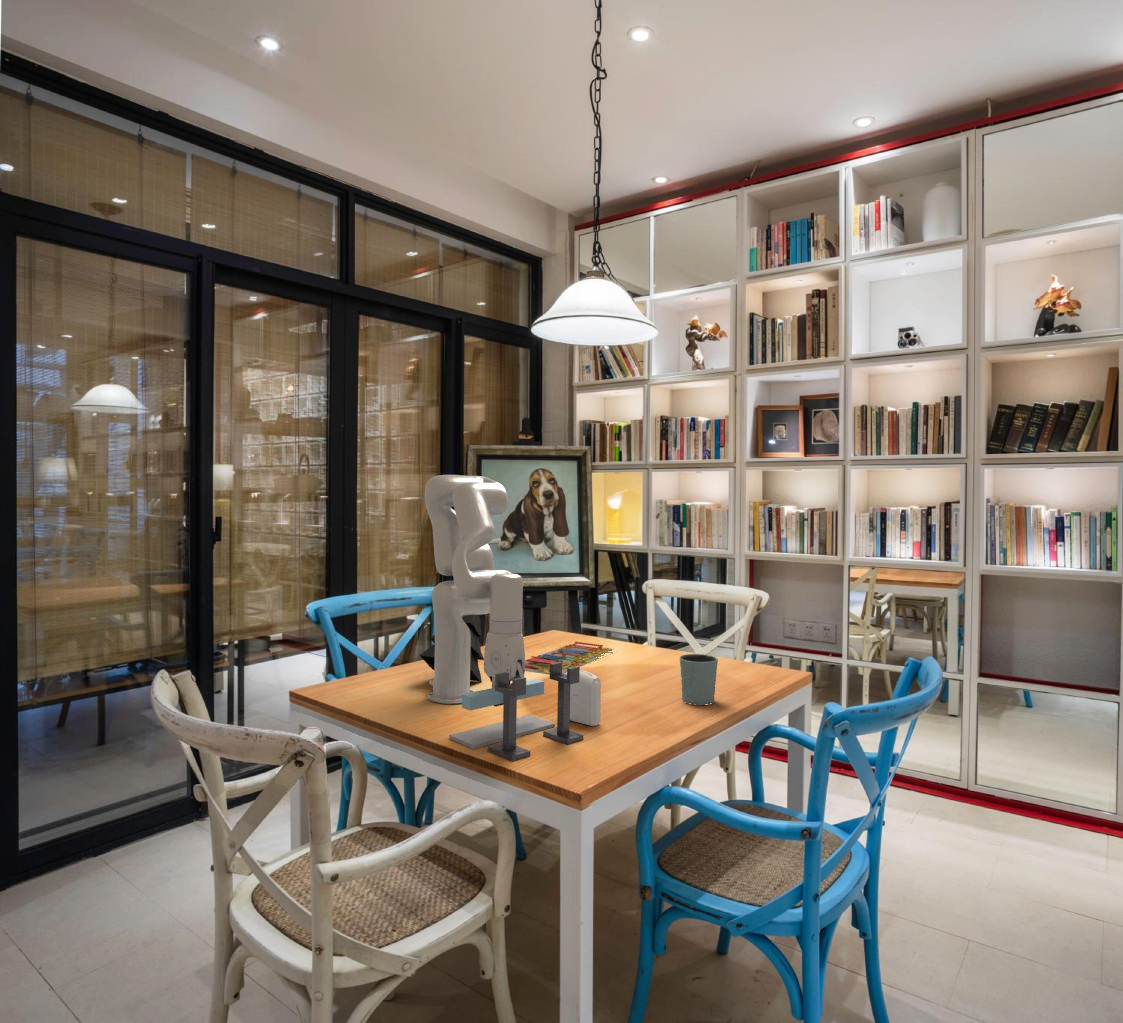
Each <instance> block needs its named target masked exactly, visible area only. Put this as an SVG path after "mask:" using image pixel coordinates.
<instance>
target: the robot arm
mask: <svg viewBox="0 0 1123 1023" xmlns="http://www.w3.org/2000/svg"><path fill="white" fill-rule="evenodd" d="M424 503H425V507H426V511H427V514H428V516H429V520H430V523H431V527H432V539H433V551H434V553H433V554H434V562H435V567H436V571H437V573H439V575H442V576H446V577H447V576H448V577H449V576H450V577H453V578H452V579H453V580H445V581H442V582H441V581H440V582H439V583H438V584H437V585H435V587H434V588H433V590H432V593H431V603H432V609H433V615H434V635H435V643H434V644H435V665H434V670H433V672H434V673H433V679H430V680H429V681H428V684H429V685H430V686H432V690H431V691H429V693H428V694H427V699H428V700H429V701H430V702H433V703H437V704H442V705H443V704H445V705H448V704H449V705H457V704H462V694H466V693H471V692H475V691H474V690H472V689H471V688H470V687H471V685H470V684H471V680H470V647H471V634H470V630H469V628H468V626H467V625H466V623H465V622H464V621H463V619H462V616H467V615H479V616H480V615H487V614H489V631H488V632H487V635H486V637H485V638H486V639H485V645H484V654H483V658H484V660H483V672H484V674H486V676H487V677H488V678H489V680H490V682H491V688H495V674H499V673H504V672H508V673H509V685H512V679H516V678H520V677H525V674H526V673H525V672H526V671H525V660H526V650H525V643H524V636H523V597H524V596H523V594H524V592H523V590H524V585H523V583H524V582H523V577H522V576H521V575H519V574H517V573H512V572H510V571H509V570H507V569H506V570H505V569H495V561H494V560H495V559H494V554H493V553H494V552H493V551H492V549H491V546H490V543H491V542H492V541H493V540H494V539H495V536H496V528H495V523H494V521H493V518H492V516H499V515H500V516H502V515H503V514H504V513H505V512H506V511H507V509H508V506H509V497H508V493H507V491H506V488H505V487H504V486H503V485H502V484H501V483H500V482H499V481H496V480H494V479H491V478H489V477H487V476H482V475H481V476H480V475H460V474H442V475H434V476H432V477H431V478H429V479H428V480H427V482H426V484H425V489H424ZM452 507H453V508H454V509H453V508H452ZM501 706H503V703H502V704H497V705H493V707H501Z"/></svg>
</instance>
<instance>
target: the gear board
mask: <svg viewBox="0 0 1123 1023" xmlns="http://www.w3.org/2000/svg"><path fill="white" fill-rule="evenodd" d="M596 647H597V648H596ZM612 650H613V648H611V647H604V645H603V644H597V643H589V642H588V643H587V642H581V641H574V643H573V644H572V643H569V644H566V645H564V646H560V647H559V648H556V649H553V650H551V651H547V652H545V653H542V654H539V655H536V656H535V655H531V656H530V657H529V658H528V659H525V672H530V673H536V674H544V675H549V676H550V664H551V663H556V662H562V674H566V672H567V668H570V667H575V666H578V667H580V666H581V667H583V666H585V665H588V664H591V663H592V661H593V662H595V661H598V660H600V659H599V658H598V657H601V656H604V655H601V654H603V653H604V654H605V653H612V654H614V653H613V652H608V651H612ZM596 657H597V658H596ZM597 659H598V660H597ZM594 660H595V661H594ZM587 663H588V664H587Z"/></svg>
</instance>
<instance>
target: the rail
mask: <svg viewBox="0 0 1123 1023" xmlns="http://www.w3.org/2000/svg"><path fill="white" fill-rule="evenodd" d="M544 694H545V681H544V680H540V679H536V678H534V679H530V680H526V695H521V696H517V701H519V700H523V699H527V698H533V697H537V696H541V695H544ZM503 701H504V693H501V692H498V691H495V688H492V687H491V688H485V689H482V690H476V691H474V692H471V693H466V694H462V703H461V708H462V709H465V710H467V711H471V712H472V711H475V710H479V709H483V708H489V707H492V706H493V707H494V705H497V704H502V703H503Z"/></svg>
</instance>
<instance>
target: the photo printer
mask: <svg viewBox="0 0 1123 1023" xmlns="http://www.w3.org/2000/svg"><path fill="white" fill-rule="evenodd" d="M565 674H566V675H567V672H566V673H565ZM601 688H602V683H601V680H600V678H599V677H598V676H597V675H596V674H593V673H592V672H590V671H586V670H583V669H580V675H579V683H574V684H570V721H571V722H576V723H579V724H583V725H585V726H586V725H587V726H591V727H597V726H598V725H600V722H601V714H602V713H601V709H602V708H601V702H602V701H601V700H602V699H601V698H602V697H601V695H602V690H601Z"/></svg>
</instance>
